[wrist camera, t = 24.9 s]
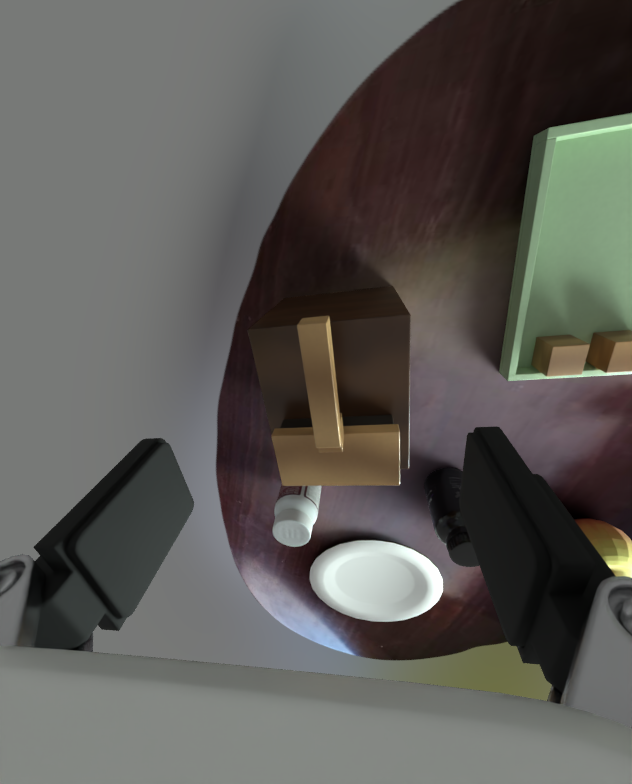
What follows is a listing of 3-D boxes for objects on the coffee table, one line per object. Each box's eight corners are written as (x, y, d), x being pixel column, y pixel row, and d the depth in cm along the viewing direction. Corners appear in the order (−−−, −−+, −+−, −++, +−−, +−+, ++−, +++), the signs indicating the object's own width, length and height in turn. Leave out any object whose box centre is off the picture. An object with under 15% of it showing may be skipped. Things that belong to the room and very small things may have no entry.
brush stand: (284, 298, 38) (247, 329, 26) (393, 285, 36) (410, 314, 23) (301, 404, 44) (279, 470, 32) (394, 400, 42) (409, 469, 30)
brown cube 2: (592, 332, 35) (615, 342, 32) (629, 329, 34) (655, 339, 31) (584, 361, 36) (605, 373, 33) (619, 359, 36) (643, 371, 33)
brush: (396, 461, 30) (404, 515, 24) (289, 463, 31) (273, 513, 26) (394, 294, 23) (405, 315, 17) (257, 309, 25) (226, 331, 19)
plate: (464, 553, 54) (467, 562, 53) (414, 625, 66) (415, 634, 64) (325, 518, 55) (324, 526, 53) (300, 596, 66) (298, 604, 65)
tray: (533, 135, 28) (548, 127, 26) (740, 99, 26) (778, 86, 23) (498, 372, 39) (507, 381, 36) (643, 363, 36) (663, 372, 34)
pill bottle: (281, 480, 52) (262, 540, 42) (292, 454, 49) (275, 511, 39) (315, 493, 52) (305, 555, 42) (329, 467, 49) (320, 527, 39)
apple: (557, 558, 52) (588, 609, 45) (530, 523, 49) (559, 572, 42) (623, 537, 48) (668, 589, 41) (598, 498, 45) (642, 547, 38)
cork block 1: (536, 336, 36) (553, 346, 33) (570, 334, 35) (590, 344, 32) (530, 364, 37) (546, 377, 34) (563, 362, 37) (582, 374, 34)
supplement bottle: (413, 479, 48) (429, 549, 38) (453, 458, 45) (481, 526, 35) (440, 505, 50) (461, 579, 39) (479, 486, 47) (513, 559, 37)
